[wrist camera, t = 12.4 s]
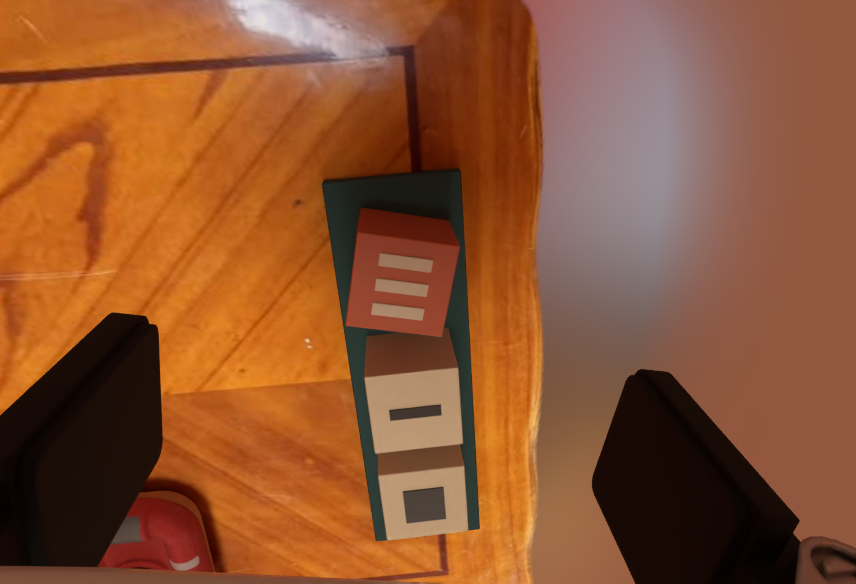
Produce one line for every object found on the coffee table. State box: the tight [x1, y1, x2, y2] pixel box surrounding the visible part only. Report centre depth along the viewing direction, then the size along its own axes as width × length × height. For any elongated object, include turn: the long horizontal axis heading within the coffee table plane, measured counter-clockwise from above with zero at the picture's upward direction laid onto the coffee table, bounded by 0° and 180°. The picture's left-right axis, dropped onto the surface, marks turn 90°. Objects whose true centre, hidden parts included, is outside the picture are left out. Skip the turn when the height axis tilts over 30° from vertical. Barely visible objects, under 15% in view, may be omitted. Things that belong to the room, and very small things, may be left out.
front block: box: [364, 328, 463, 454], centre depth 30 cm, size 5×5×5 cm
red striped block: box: [346, 208, 460, 337], centre depth 27 cm, size 5×5×5 cm
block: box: [378, 444, 468, 540], centre depth 32 cm, size 5×5×5 cm
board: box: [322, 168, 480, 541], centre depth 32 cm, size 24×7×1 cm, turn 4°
